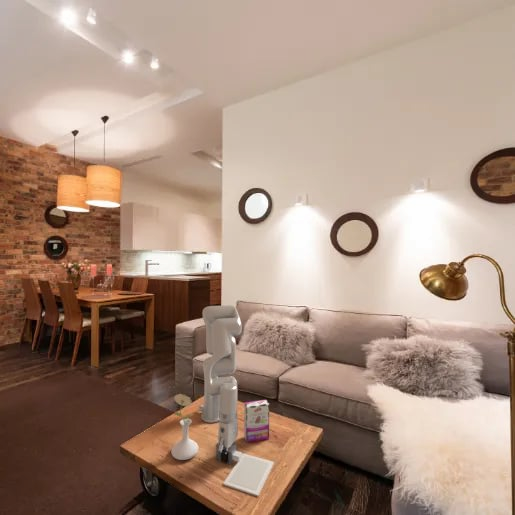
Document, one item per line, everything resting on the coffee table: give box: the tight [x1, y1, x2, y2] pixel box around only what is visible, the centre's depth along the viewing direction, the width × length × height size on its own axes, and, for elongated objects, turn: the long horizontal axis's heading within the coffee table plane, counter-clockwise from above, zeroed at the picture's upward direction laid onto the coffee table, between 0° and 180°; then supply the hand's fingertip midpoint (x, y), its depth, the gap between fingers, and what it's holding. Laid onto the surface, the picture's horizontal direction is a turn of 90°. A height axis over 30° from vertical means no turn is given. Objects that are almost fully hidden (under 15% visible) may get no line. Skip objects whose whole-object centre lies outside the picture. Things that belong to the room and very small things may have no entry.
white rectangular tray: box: [222, 452, 275, 497], centre depth 113 cm, size 14×18×1 cm
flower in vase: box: [171, 393, 200, 461], centre depth 124 cm, size 13×11×25 cm
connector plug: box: [215, 442, 243, 465], centre depth 121 cm, size 11×4×5 cm, turn 69°
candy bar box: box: [243, 399, 270, 444], centre depth 136 cm, size 11×5×16 cm, turn 105°
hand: (227, 457), depth 121 cm, fingers closed on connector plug, 4 cm apart
